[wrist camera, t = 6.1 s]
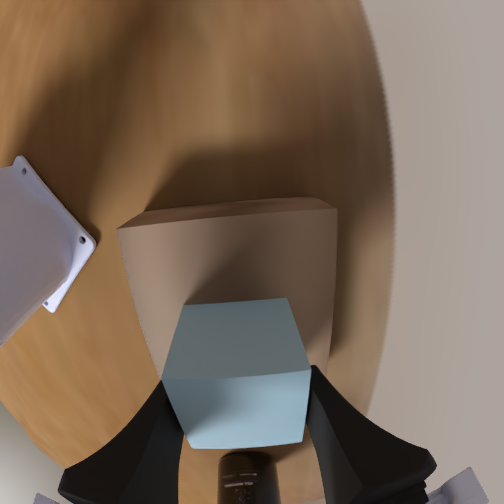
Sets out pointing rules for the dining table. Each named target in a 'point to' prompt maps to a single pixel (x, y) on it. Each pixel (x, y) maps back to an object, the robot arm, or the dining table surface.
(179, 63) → the dining table surface
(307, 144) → the dining table surface
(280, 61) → the dining table surface
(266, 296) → the walnut block
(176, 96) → the dining table surface
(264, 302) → the blue cube
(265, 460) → the supplement bottle
